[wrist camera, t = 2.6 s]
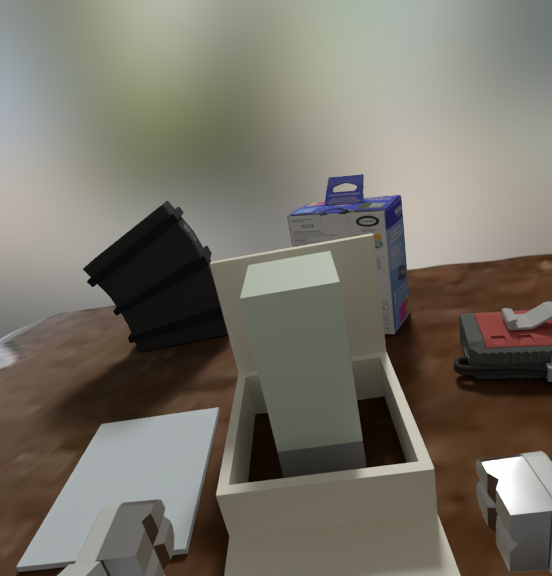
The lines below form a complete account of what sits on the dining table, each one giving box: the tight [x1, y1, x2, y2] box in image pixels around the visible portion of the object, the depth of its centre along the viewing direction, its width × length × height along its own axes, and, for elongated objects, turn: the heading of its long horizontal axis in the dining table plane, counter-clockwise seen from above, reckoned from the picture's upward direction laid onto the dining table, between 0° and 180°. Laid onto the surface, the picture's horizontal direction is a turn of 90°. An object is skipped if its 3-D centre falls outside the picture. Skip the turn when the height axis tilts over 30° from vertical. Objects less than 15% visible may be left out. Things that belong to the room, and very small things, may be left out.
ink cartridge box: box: [287, 174, 410, 335], centre depth 42 cm, size 10×6×14 cm, turn 60°
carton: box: [210, 233, 460, 576], centre depth 24 cm, size 11×16×12 cm
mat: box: [16, 407, 220, 572], centre depth 29 cm, size 10×12×1 cm
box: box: [240, 251, 367, 478], centre depth 26 cm, size 5×5×13 cm
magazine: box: [83, 201, 228, 352], centre depth 46 cm, size 4×13×15 cm, turn 94°
